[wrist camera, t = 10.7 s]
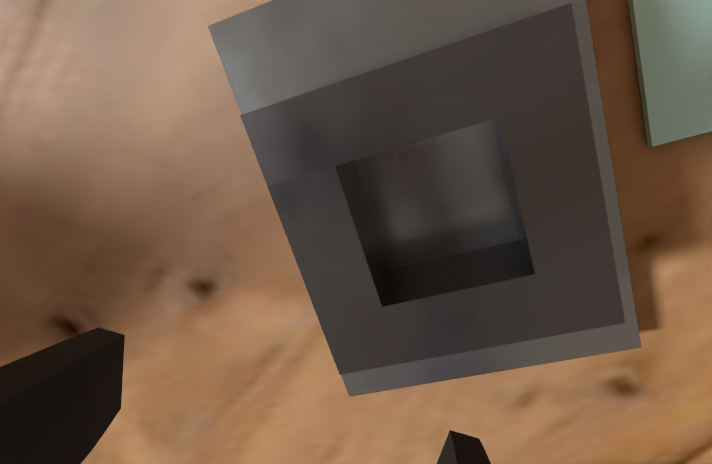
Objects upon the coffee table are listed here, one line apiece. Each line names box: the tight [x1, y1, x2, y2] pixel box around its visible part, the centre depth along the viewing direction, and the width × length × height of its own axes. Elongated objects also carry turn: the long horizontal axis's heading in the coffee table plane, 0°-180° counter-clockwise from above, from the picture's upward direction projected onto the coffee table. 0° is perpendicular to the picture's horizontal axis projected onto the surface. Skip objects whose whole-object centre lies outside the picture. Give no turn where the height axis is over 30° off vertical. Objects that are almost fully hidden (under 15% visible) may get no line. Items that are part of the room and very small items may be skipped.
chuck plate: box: [208, 0, 641, 397], centre depth 17 cm, size 16×12×4 cm
